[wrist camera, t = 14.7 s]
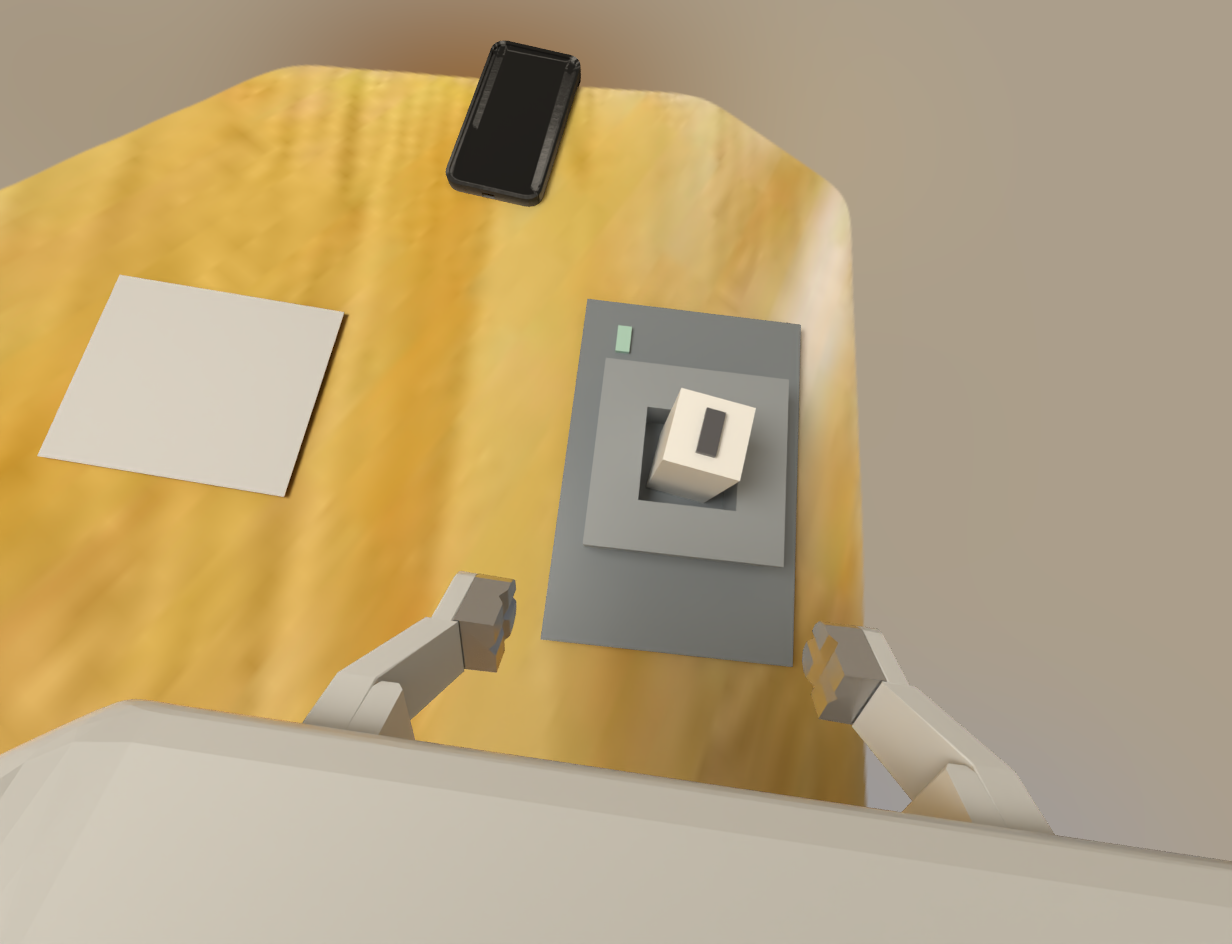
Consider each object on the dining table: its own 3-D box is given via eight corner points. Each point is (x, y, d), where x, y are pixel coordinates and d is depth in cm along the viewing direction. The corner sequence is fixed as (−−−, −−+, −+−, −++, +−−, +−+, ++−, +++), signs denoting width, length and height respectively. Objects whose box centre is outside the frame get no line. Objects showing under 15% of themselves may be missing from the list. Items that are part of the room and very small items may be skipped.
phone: (583, 57, 38) (537, 201, 35) (583, 72, 39) (539, 212, 36) (493, 37, 38) (440, 179, 35) (496, 52, 39) (445, 191, 36)
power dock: (786, 663, 29) (815, 678, 25) (542, 636, 29) (533, 647, 25) (794, 331, 34) (820, 301, 30) (587, 306, 34) (586, 272, 30)
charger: (702, 503, 30) (741, 479, 22) (646, 487, 30) (663, 458, 22) (715, 448, 31) (757, 406, 23) (660, 433, 31) (682, 385, 23)
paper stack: (175, 176, 35) (167, 168, 34) (486, 228, 35) (484, 222, 35) (49, 458, 30) (36, 455, 30) (410, 518, 30) (406, 517, 30)
